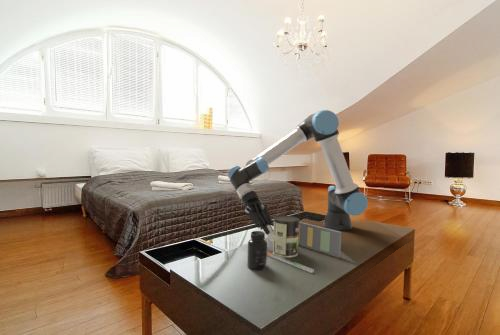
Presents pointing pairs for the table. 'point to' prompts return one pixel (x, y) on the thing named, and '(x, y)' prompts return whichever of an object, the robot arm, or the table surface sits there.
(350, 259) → the table surface
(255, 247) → the supplement bottle
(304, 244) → the panel board
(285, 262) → the front rail
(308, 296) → the table surface
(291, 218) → the coffee can
